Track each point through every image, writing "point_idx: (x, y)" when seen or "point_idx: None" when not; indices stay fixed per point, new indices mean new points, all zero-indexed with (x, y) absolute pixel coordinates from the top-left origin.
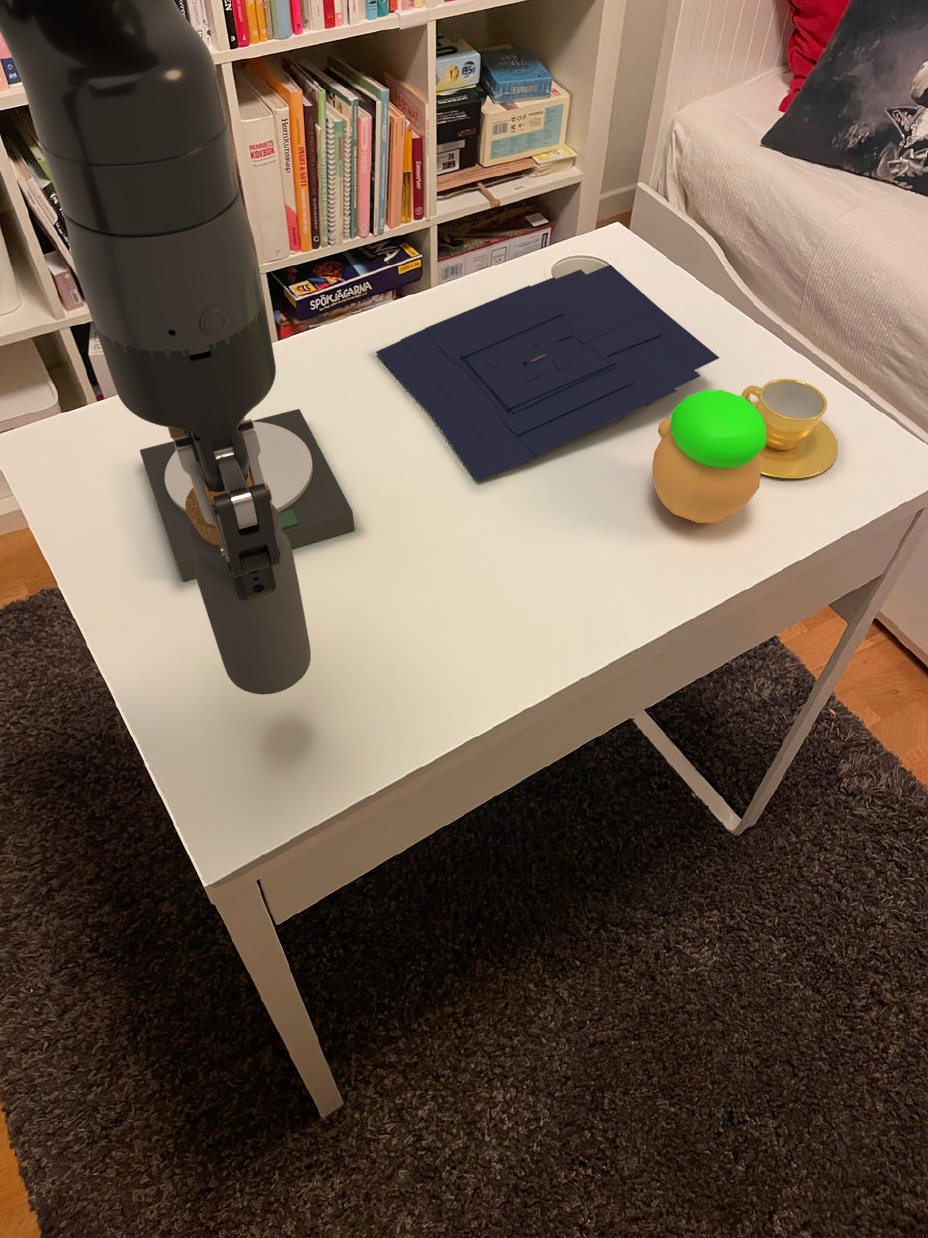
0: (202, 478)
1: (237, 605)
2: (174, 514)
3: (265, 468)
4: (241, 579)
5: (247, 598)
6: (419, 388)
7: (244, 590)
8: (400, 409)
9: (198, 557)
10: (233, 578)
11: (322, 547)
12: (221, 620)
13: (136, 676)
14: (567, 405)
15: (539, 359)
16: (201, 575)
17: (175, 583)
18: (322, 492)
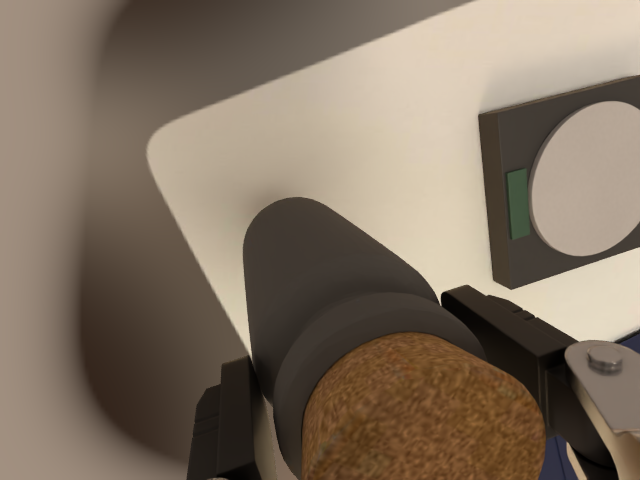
0: (548, 364)
1: (251, 321)
2: (561, 110)
3: (588, 209)
4: (214, 426)
5: (204, 394)
6: (633, 344)
7: (212, 401)
8: (616, 324)
9: (356, 273)
10: (219, 409)
11: (482, 251)
12: (264, 262)
13: (374, 63)
14: (570, 468)
15: None
16: (307, 278)
17: (478, 106)
18: (542, 262)
